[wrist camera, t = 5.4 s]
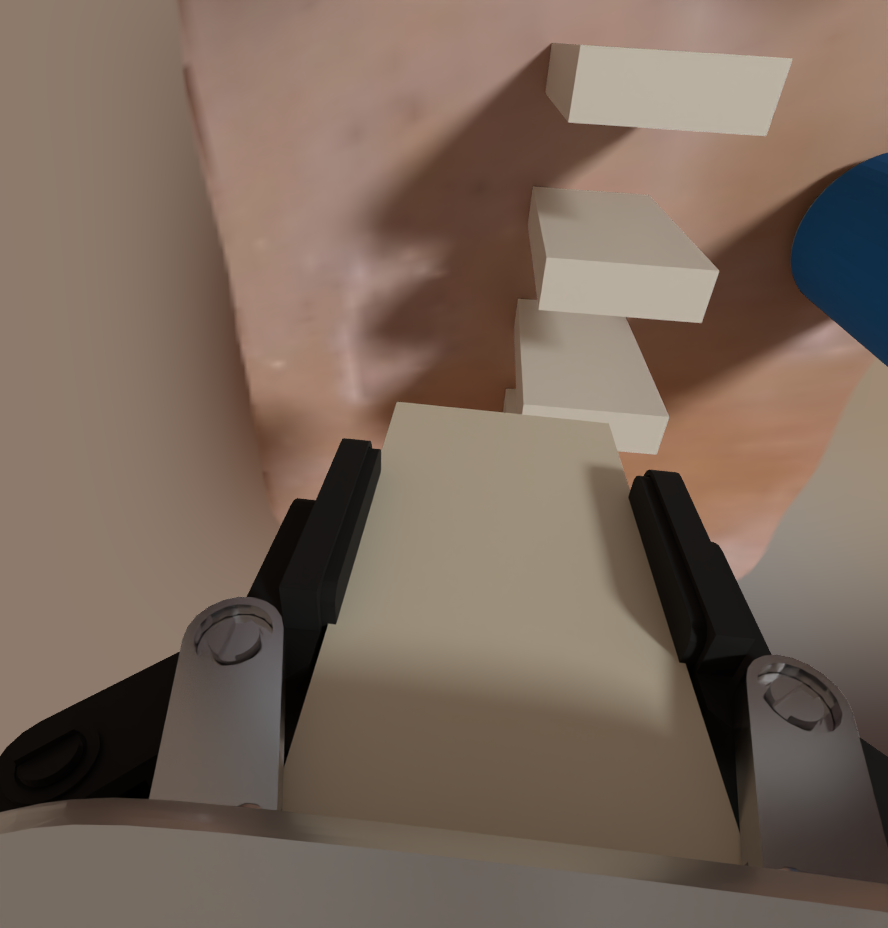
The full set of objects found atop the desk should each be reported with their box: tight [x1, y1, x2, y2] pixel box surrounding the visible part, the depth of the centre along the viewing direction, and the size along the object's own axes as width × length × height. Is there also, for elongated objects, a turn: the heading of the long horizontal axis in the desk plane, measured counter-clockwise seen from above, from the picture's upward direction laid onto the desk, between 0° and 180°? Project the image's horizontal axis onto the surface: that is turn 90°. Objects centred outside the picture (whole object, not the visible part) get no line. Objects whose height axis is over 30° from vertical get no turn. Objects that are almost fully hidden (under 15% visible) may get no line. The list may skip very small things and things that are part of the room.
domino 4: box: [514, 299, 669, 455], centre depth 24 cm, size 2×5×10 cm, turn 88°
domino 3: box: [528, 186, 719, 323], centre depth 21 cm, size 2×5×10 cm, turn 87°
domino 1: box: [282, 402, 742, 865], centre depth 10 cm, size 2×5×10 cm, turn 86°
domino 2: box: [545, 43, 793, 136], centre depth 18 cm, size 2×5×10 cm, turn 87°
